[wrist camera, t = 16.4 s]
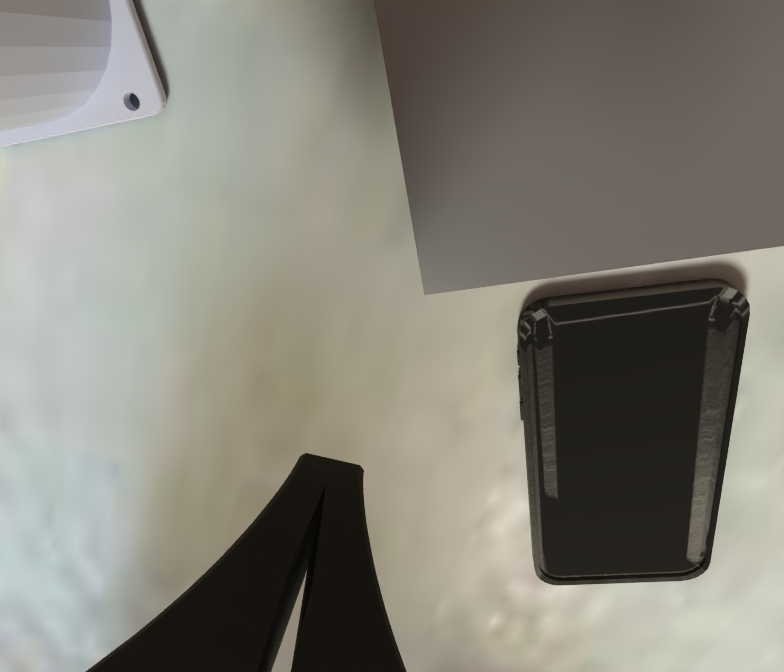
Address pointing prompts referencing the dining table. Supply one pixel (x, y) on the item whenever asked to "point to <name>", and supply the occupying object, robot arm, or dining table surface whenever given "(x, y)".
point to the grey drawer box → (585, 132)
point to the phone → (628, 428)
